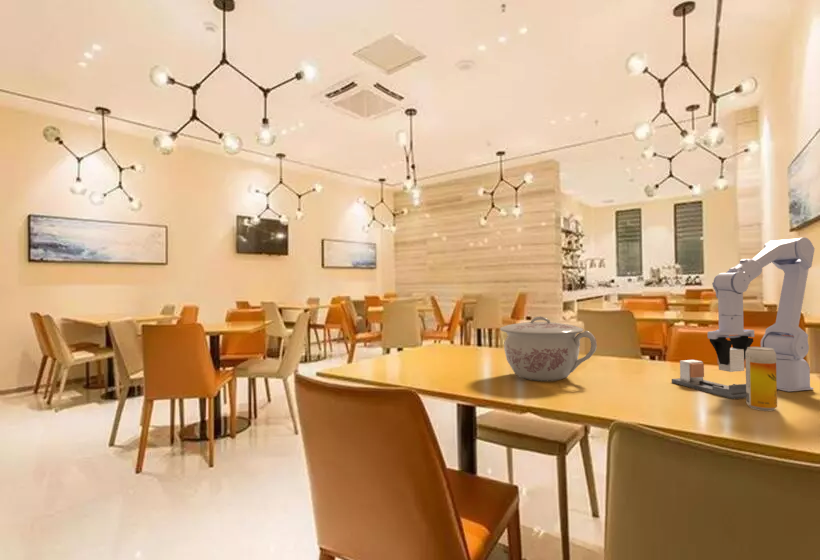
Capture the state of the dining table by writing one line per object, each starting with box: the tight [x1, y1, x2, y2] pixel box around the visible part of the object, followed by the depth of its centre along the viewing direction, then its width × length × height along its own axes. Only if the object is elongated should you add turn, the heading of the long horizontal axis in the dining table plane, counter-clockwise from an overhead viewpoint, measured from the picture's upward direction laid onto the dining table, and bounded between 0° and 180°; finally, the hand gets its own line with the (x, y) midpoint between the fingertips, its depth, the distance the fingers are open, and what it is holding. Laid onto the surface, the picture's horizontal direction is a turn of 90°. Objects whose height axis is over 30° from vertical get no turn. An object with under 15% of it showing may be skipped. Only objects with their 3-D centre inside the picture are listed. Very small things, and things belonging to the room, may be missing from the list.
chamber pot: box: [499, 316, 598, 382], centre depth 153 cm, size 28×28×21 cm
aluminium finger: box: [716, 347, 745, 373], centre depth 127 cm, size 4×5×6 cm
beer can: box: [744, 346, 778, 412], centre depth 113 cm, size 6×6×15 cm
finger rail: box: [671, 359, 746, 400], centre depth 133 cm, size 21×8×7 cm, turn 13°
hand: (731, 363), depth 127 cm, fingers closed on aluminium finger, 5 cm apart
